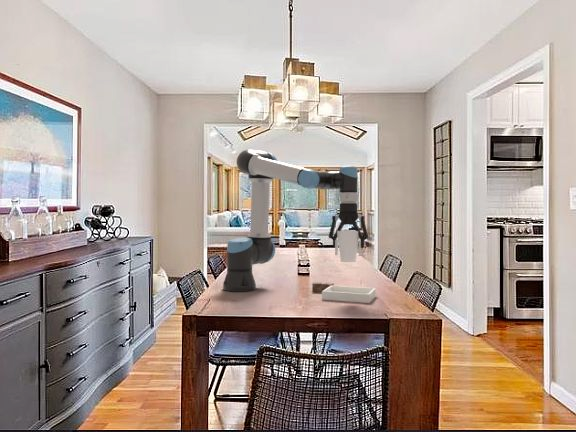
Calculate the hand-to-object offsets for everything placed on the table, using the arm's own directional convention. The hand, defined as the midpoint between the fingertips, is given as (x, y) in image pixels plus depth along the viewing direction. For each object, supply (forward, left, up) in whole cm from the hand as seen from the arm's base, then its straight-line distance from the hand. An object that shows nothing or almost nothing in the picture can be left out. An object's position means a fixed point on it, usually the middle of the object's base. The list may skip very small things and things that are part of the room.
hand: (348, 255), depth 220 cm
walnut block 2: (-11, +10, -18) cm, 24 cm away
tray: (+1, 0, -18) cm, 18 cm away
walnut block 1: (-16, +10, -18) cm, 27 cm away
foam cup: (0, 0, -3) cm, 3 cm away
